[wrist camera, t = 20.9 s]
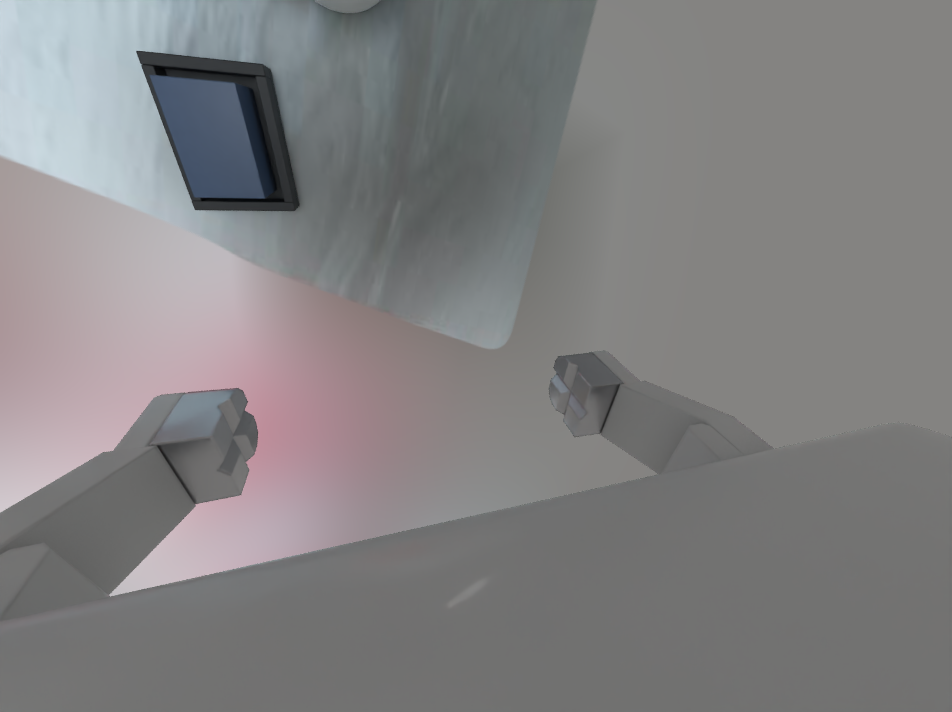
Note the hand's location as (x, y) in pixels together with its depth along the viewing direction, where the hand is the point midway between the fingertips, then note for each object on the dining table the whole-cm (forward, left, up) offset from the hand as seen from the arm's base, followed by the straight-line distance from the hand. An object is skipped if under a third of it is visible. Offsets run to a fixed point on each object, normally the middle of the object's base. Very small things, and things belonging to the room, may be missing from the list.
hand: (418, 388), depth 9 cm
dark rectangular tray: (-4, -9, -25) cm, 27 cm away
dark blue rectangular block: (-4, -9, -24) cm, 26 cm away
